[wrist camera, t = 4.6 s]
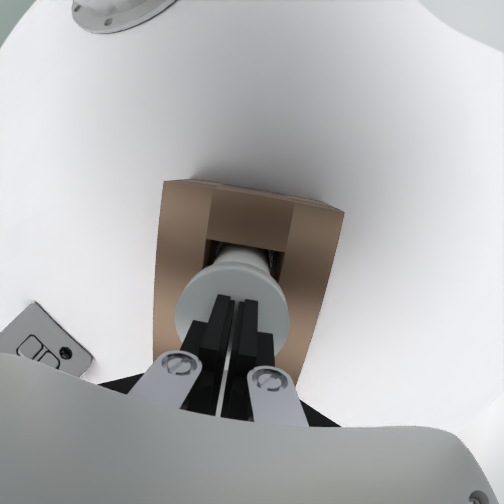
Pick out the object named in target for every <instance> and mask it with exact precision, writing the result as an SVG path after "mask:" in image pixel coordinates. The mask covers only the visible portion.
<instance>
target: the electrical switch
mask: <svg viewBox="0 0 504 504" xmlns="http://www.w3.org/2000/svg"><path fill="white" fill-rule="evenodd" d="M0 353H6V354H12V355H18V356H22V357H25V358H29V359H32V360H35V361H37V362H40V363H43V364H45V365H48V366H50V367H53V368H55V369H58V370H60V371H63V372H65V373H68V374H70V375H73V376H75V377H78V378H79V377H80V376H81V375H82V373H83V372H85V371H86V370H87V368H88V367H89V366H90V363H91V356H90V355H89V354H88V353H87V352H86V351H85V350H84V349H83V348H81V347H80V346H79V345H78V344H77V343H76V342H75V341H74V340H73V339H72V338H70V337H69V336H68V335H67V334H66V333H65V332H64V331H63V330H62V329H61V328H60V327H59V326H58V325H57V324H56V323H55V322H54V321H53V320H52V319H51V318H50V317H49V316H48V315H47V314H46V313H45V312H44V311H43V310H42V309H41V308H40V307H39V306H38V305H37V304H30V305H29V306H28V307H27V308H26V309H25V310H24V311H23V312H21V313H20V314H19V315H18V316H17V317H16V318H15V319H14V320H13V321H12V322H11V323H10V324H9V325H8V326H7V327H6V328H5V329H4V330H3V331H2V332H1V333H0ZM62 355H65V356H66V357H67V358H63V356H62Z"/></svg>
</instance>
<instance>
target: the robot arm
mask: <svg viewBox="0 0 504 504" xmlns="http://www.w3.org/2000/svg"><path fill="white" fill-rule="evenodd" d="M174 1H175V0H73V4H72V16H73V19H74V21H75V22H76V23H77V24H78V25H79V26H80V27H82V28H83V29H85V30H86V31H89V32H92V33H101V34H103V33H113V32H117V31H121V30H125V29H127V28H130V27H132V26H135V25H138V24H140V23H142V22H144V21H146V20H148V19H150V18H151V17H153V16H155V15H156V14H158V13H159V12H161V11H163V10H164V9H165V8H166V7H168V6H169V5H170V4H172V3H173V2H174ZM230 299H231V296H226V295H221V294H218V295H217V298H216V300H215V303H214V306H213V309H212V312H211V315H210V318H209V320H208V323H207V322H201V321H196V320H193V321H192V323H191V325H190V328H189V330H188V332H187V334H186V337H185V339H184V341H183V343H182V346H181V348H180V350H179V351H177V350H173V351H168V352H165V353H163V354H161V355H160V356H159V357H158V358H157V359H156V360H155V362H154V363H153V364H152V365H151V366H150V368H149V369H148V370H147V371H146V372H145V373H142V374H138V375H135V376H131V377H127V378H123V379H118V380H114V381H110V382H106V383H101V384H97V385H96V384H93V383H91V382H88V381H85V380H83V379H80V378H78V377H75V376H73V375H70V374H68V373H65V372H63V371H60V370H58V369H55V368H53V367H50V366H48V365H45V364H43V363H40V362H37V361H35V360H32V359H29V358H25V357H22V356H18V355H12V354H6V353H0V504H499V503H498V501H497V498H496V496H495V494H494V492H493V490H492V488H491V486H490V484H489V482H488V480H487V478H486V476H485V475H484V473H483V471H482V469H481V467H480V466H479V464H478V463H477V461H476V460H475V458H474V457H473V455H472V453H471V452H470V451H469V449H468V448H467V447H466V446H465V444H464V443H463V442H462V441H461V440H460V439H459V438H458V437H457V436H455V435H454V434H452V433H450V432H447V431H444V430H441V429H436V428H431V427H423V426H380V427H341V426H339V425H338V424H336V423H335V422H333V421H331V420H330V419H328V418H327V417H325V416H324V415H322V414H321V413H319V412H318V411H316V410H315V409H313V408H312V407H310V406H309V405H307V404H306V403H304V402H303V401H301V400H300V399H299V397H298V394H297V392H296V389H295V386H294V383H293V381H292V379H291V377H290V375H288V374H287V373H286V372H285V371H283V370H281V369H279V368H276V367H275V356H274V341H273V334H272V333H265V332H259V331H258V301H256V300H250V299H245V302H241V301H239V307H238V313H237V319H236V325H235V331H234V337H233V342H232V348H231V354H230V360H229V366H228V372H227V378H226V384H225V390H224V396H223V403H222V409H221V415H220V417H216V416H215V415H216V410H217V404H218V399H219V393H220V388H221V382H222V377H223V372H224V366H225V361H226V355H227V349H228V343H229V336H230V330H231V324H232V318H233V312H234V306H235V300H230Z"/></svg>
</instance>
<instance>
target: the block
mask: <svg viewBox="0 0 504 504" xmlns="http://www.w3.org/2000/svg"><path fill="white" fill-rule="evenodd" d="M343 217H344V212H343V211H341V210H339V209H336V208H334V207H332V206H330V205H328V204H326V203H323V202H320V201H315V200H311V199H306V198H301V197H296V196H290V195H285V194H280V193H274V192H269V191H263V190H258V189H252V188H246V187H240V186H234V185H227V184H221V183H214V182H207V181H200V180H193V179H184V180H172V181H164V184H163V192H162V200H161V209H160V218H159V228H158V239H157V251H156V265H155V282H154V307H153V363H154V362H155V360H156V359H157V358H158V357H159V356H160V355H161V354H163V353H165V352H168V351H173V350H177V351H179V350H180V348H181V346H182V342H181V340H180V338H179V336H178V334H177V330H176V327H175V308H176V305H177V302H178V300H179V298H180V296H181V294H182V293H183V291H184V289H185V288H186V286H187V285H188V283H189V282H190V280H191V279H192V278H193V277H194V276H195V275H196V274H197V273H198V272H200V271H201V270H203V269H204V268H206V267H208V266H211V265H213V263H214V261H215V255H216V248H217V241H222V242H228V243H234V244H240V245H246V246H251V247H257V248H263V249H269V250H274V251H275V252H274V257H273V262H272V267H271V272H270V275H271V277H272V278H273V279H274V280H275V281H276V282H277V283H278V284H279V286H280V288H281V289H282V291H283V293H284V296H285V299H286V302H287V308H288V313H289V320H290V328H289V333H288V337H287V340H286V342H285V344H284V346H283V347H282V349H281V350H280V351H279V352H278V353H277V355H276V356H275V367H276V368H279V369H281V370H283V371H285V372H286V373H287V374H288V375H290V377H291V379H292V381H293V383H294V386H296V384H297V381H298V378H299V375H300V372H301V369H302V366H303V363H304V360H305V357H306V354H307V351H308V348H309V345H310V342H311V338H312V335H313V332H314V329H315V325H316V322H317V319H318V315H319V312H320V308H321V305H322V301H323V298H324V294H325V291H326V287H327V283H328V279H329V276H330V272H331V268H332V264H333V260H334V256H335V252H336V248H337V244H338V239H339V235H340V231H341V226H342V222H343Z"/></svg>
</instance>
